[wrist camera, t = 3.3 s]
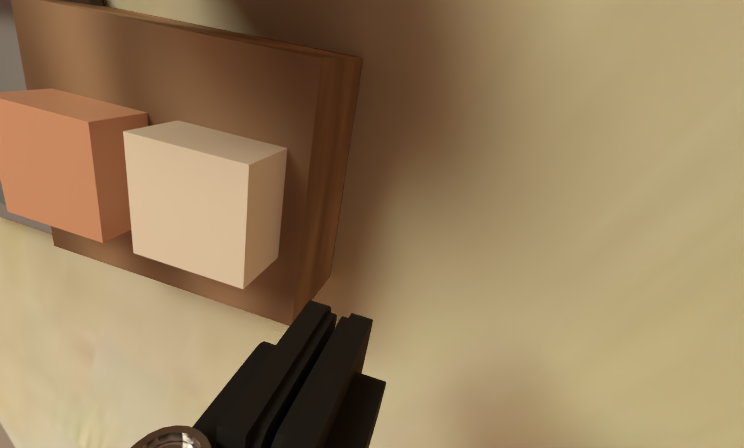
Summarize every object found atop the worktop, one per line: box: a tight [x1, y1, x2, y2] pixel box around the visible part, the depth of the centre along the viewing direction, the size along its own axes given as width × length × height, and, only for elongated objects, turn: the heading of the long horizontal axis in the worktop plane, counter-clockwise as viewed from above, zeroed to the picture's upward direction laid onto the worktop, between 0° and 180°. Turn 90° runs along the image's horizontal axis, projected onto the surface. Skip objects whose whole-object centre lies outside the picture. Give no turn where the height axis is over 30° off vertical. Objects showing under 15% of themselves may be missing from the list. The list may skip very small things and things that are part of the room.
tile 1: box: [0, 88, 148, 243], centre depth 17 cm, size 5×5×3 cm
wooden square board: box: [11, 0, 363, 326], centre depth 20 cm, size 14×12×5 cm
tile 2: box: [123, 121, 287, 289], centre depth 16 cm, size 5×5×3 cm
